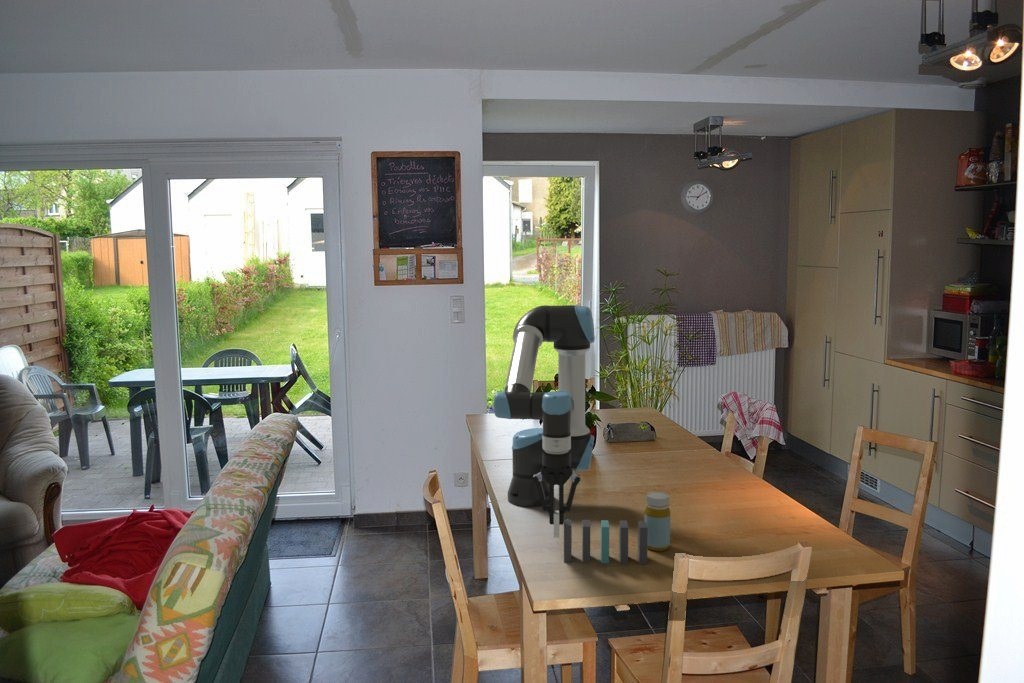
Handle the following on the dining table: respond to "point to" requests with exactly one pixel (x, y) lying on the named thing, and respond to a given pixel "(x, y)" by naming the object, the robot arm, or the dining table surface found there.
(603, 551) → the domino
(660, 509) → the bottle
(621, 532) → the domino
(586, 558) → the domino
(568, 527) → the domino
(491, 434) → the dining table surface
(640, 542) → the domino
